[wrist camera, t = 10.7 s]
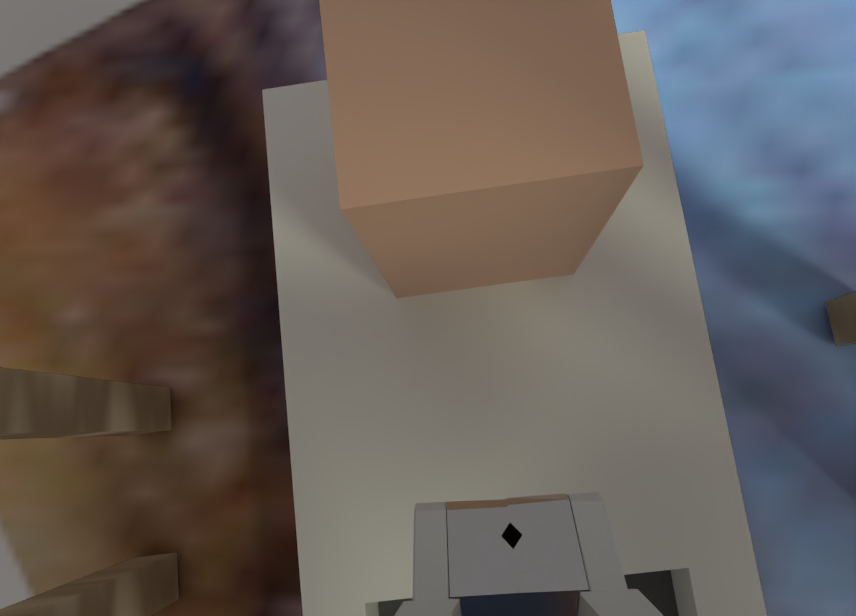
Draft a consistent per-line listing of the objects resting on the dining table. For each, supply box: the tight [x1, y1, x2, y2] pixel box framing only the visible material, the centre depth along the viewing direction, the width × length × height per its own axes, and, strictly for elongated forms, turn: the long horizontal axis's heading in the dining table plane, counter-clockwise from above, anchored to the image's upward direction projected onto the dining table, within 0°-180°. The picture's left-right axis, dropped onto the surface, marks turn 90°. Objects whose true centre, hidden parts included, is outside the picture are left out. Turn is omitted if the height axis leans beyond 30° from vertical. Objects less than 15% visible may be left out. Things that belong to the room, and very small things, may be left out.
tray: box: [262, 30, 767, 616], centre depth 21 cm, size 32×14×2 cm, turn 7°
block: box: [319, 0, 644, 298], centre depth 17 cm, size 6×6×9 cm
